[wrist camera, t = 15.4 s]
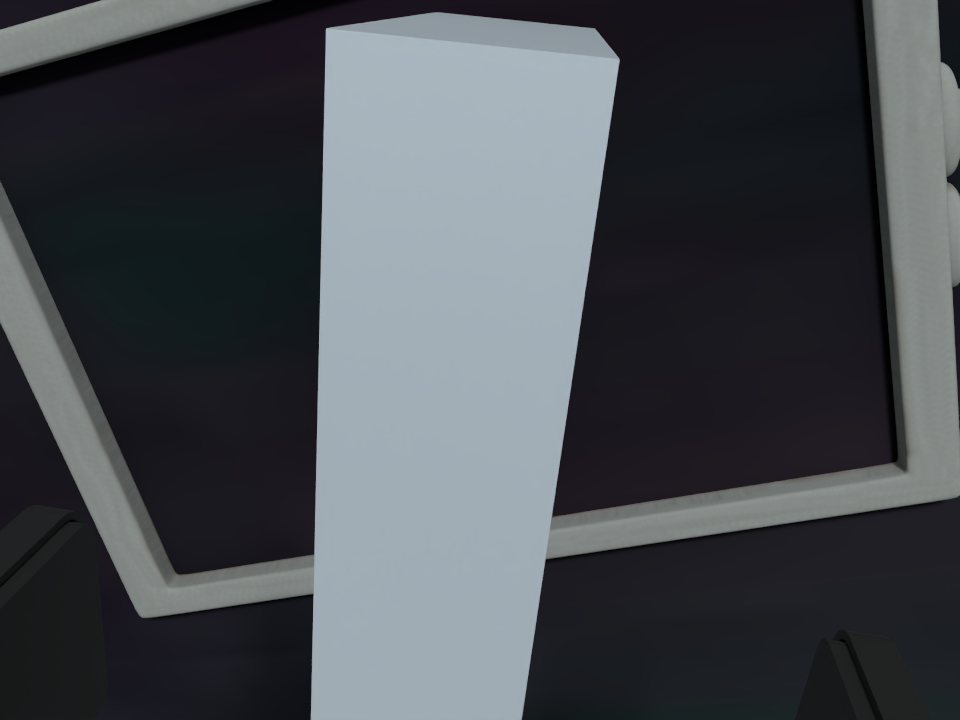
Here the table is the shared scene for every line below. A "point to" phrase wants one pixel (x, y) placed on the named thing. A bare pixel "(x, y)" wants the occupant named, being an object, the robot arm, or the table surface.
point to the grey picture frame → (910, 480)
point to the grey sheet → (446, 351)
